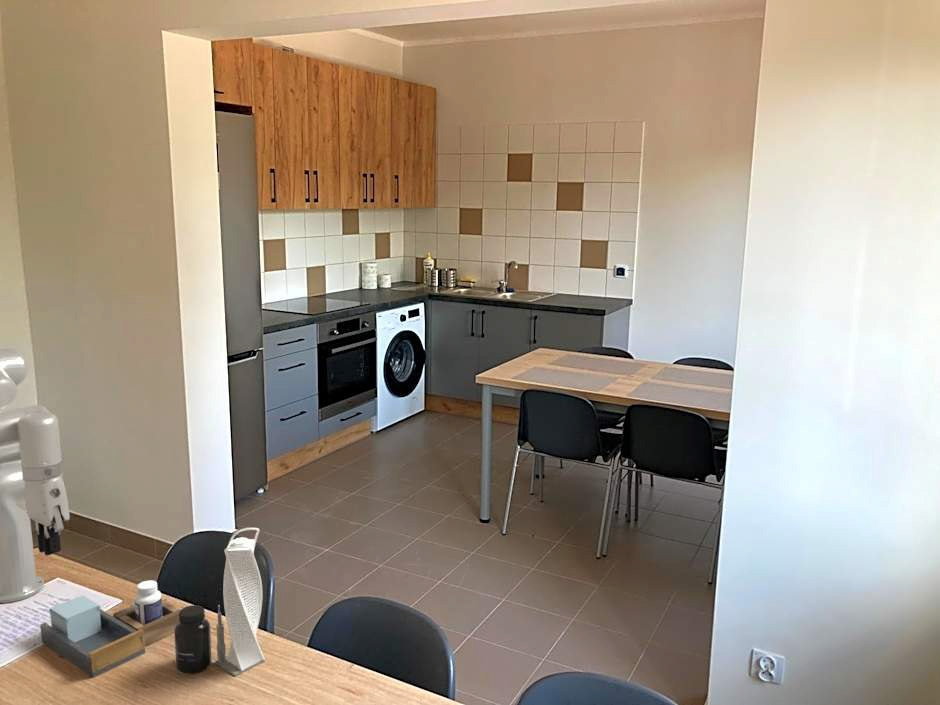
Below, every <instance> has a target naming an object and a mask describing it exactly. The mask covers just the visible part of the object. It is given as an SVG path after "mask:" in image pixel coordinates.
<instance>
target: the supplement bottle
mask: <svg viewBox="0 0 940 705" xmlns="http://www.w3.org/2000/svg"><path fill="white" fill-rule="evenodd" d="M205 611H206V610H205V608H204V606H201V605H196V604H193V605H188V606H185V607H182V608H181V609H180V612H179V623H178V624H177V625H176V627H175V631H174V633H173V634H174V652H175V666H176V667H175V668H176V670H177V671H178V672H180V673H181V674H185V675H193V674H194V675H196V674H198V673H201V672H204V671H205V670H206V669H208V668H209V667H210V666H211V664H212V661H213V660H212V659H213V658H212V636H211V633H212V632H211V631H212V630H211V623H210V622H209V620H208V619H207V618H206V613H205Z"/></svg>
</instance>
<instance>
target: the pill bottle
mask: <svg viewBox="0 0 940 705" xmlns="http://www.w3.org/2000/svg"><path fill="white" fill-rule="evenodd" d="M136 588H137V590H136V591H137V594H136V595H135V596H134V605H135V613H136V621H137V622H138V623H140V624H142V625H146V624H148V623H150V622H152V621H155V620H157V619H159V618H161V617H163V612H162V600H163V599H162V593H161V591H160V590H159V589H158V582H157V581H156V580H152V579H151V580H143V581H141V582H140V583H138V584H137V585H136Z"/></svg>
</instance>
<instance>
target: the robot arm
mask: <svg viewBox="0 0 940 705" xmlns="http://www.w3.org/2000/svg"><path fill="white" fill-rule="evenodd" d="M27 373H28V363H27V361H26V358H25V356H24V355H23V354H22V353H21V352H20V351H18V350H16V349H15V348H0V604H7V603H13V602H18V601H21V600H24V599H27V598H29V597H32V596H34V595H36V594H37V593H38V592H40V591H41V590H43V588H44V587H45V586H44V585H45V582H44V578H43V577H42V576H41V575H40V576H39V575H37V573H36V565H35V555H34V554H35V553H34V544H33V534H32V533H33V532H32V522H31V520H33V521H34V524H35V531H36V534H37V542H38V551H39V552H40V553H44V555H45V556H50V555H53V554H57V553H59V552H61V551H62V550H61V549H62V548H61V547H62V546H61V538H60V535H61V532H62V531H64V529H65V527H64V524H63V522H69V521H70V519H71V517H70V515H71V514H70V510H69V501H68V500H69V499H68V496H67V490H66V486H65V485H66V484H65V483H64V479H63V476H64V475H63V474H64V473H63V463H62V462H63V461H62V451H61V450H62V448H61V440H60V428H59V419H58V417H57V416H56V415H55V414H54V413H52V412H50V410H48V409H47V408H46V407H45V406H43V405H38V404H37V405H28V406H23V407H16V408H11V409H5V408H6V407H8V406H10V404H11V403H12V402H13V401H14V400H15V398H16V396H17V392H18V387H17V386H19V385H20V384H22V382H23V381H24V380H25V379H26V377H27ZM3 409H4V410H3ZM23 501H25V508H26V511H25V510H24V509H23V508H21V507H19V506H18V505H17V503H19V502H23ZM39 552H38V553H39Z"/></svg>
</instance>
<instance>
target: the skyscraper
mask: <svg viewBox="0 0 940 705" xmlns="http://www.w3.org/2000/svg"><path fill="white" fill-rule="evenodd" d="M252 530H253V531H254V530H255V531H256V533H255V536H254V538H248V537H237V538H235V537H236V536H237V535H238V534H239V533H241V532H244V531H252ZM259 533H260V528H258V527H244V528H241V529H238V530H237V531H235V532H234V533H233V534H232V536H231V537H230V539H229V542H228V545H227V547H225V548H224V550H223V551H224V555H225V558H226V559H225V565H224V572H223V587H222V589H223V590H222V592H223V593H222V595H223V607H224V608H223V609H224V614H225V621H226V623H227V630H228V633H229V636H230V647H229V651H228V654H227V652H226V650H227V648H226V643H225V628H224V627H225V626H224V623H222V622H223V621H222V618H223V617H222V612H221V606H220V604H218V605H217V609H218V610H217V613H216V614H217V624H216V627H215V628H216V639H217V640H216V642H217V643H216V653H217V654H216V655H217V656H216V657H217V660H216V661H215V664H216V665H218V666H219V667H220V668H221V669H223V670H225V671H226V672H228V673H229V674H230V675H232V676H234V677H238V676H240V675H241V674H243V673H245V672H247V671H249V670H250V669H253V668H254V667H257V666H259V665H260V664H263V663H264V662H265V661H266V658H265V656H264V654H263V651H262V648H261V646H260V644H259V641H258V638H257V632H258V628H259V624H260V618H261V614H262V609H263V608H262V607H263V584H262V582H263V581H262V577H261V573H260V569H259V567H258V563H257V560H256V557H255V554H254V553H255V548H256V544H257V540H258V538H259ZM234 538H235V539H234Z"/></svg>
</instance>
